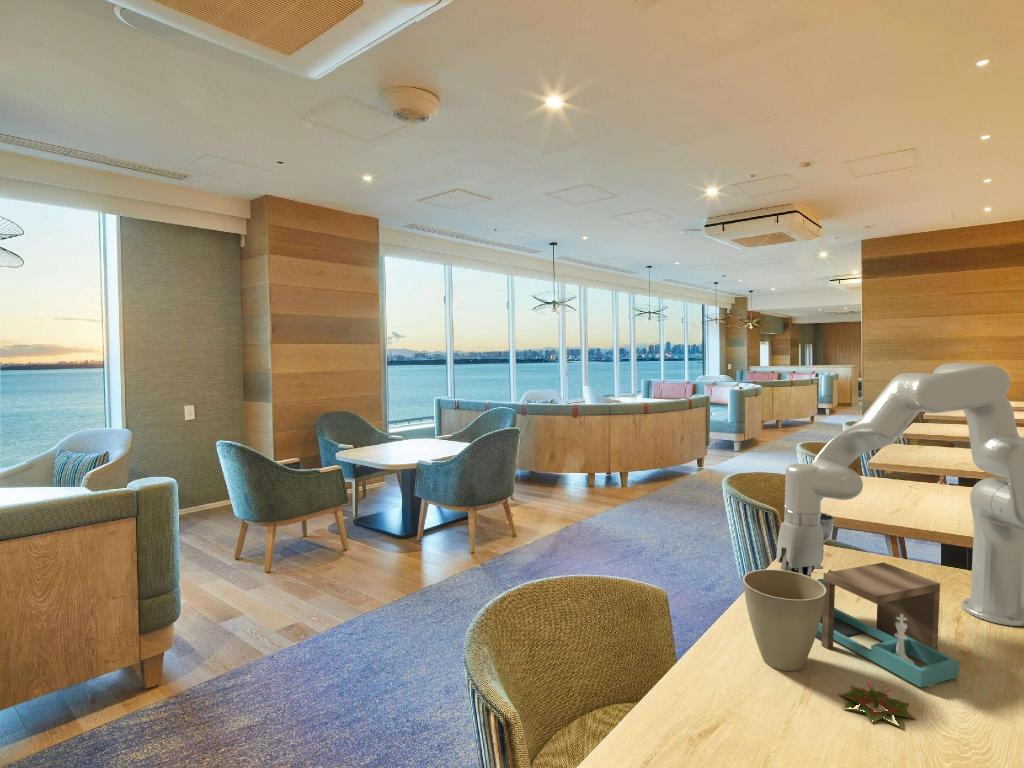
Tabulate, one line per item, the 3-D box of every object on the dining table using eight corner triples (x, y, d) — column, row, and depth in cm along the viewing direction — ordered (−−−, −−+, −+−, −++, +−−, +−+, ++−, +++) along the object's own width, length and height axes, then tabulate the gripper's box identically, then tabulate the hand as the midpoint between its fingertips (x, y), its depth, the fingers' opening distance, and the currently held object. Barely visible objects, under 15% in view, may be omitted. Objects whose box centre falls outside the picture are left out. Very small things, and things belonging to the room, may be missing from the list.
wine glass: (832, 566, 166) (834, 514, 165) (830, 575, 160) (832, 521, 159) (801, 561, 171) (803, 510, 170) (798, 570, 164) (799, 517, 163)
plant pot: (759, 635, 127) (761, 563, 126) (834, 661, 117) (837, 583, 116) (728, 661, 117) (729, 583, 116) (807, 692, 106) (810, 607, 105)
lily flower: (843, 682, 110) (843, 658, 110) (920, 706, 103) (921, 680, 103) (830, 713, 101) (830, 687, 101) (914, 742, 94) (915, 714, 93)
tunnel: (838, 610, 139) (840, 546, 138) (936, 659, 117) (940, 583, 116) (781, 622, 133) (782, 555, 132) (873, 675, 112) (876, 596, 111)
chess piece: (920, 671, 113) (922, 620, 112) (892, 669, 114) (894, 619, 113) (906, 658, 118) (908, 609, 117) (880, 656, 119) (882, 607, 118)
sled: (821, 607, 139) (822, 578, 139) (958, 676, 110) (960, 640, 110) (788, 614, 136) (788, 584, 135) (920, 687, 107) (922, 650, 106)
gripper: (814, 510, 144) (811, 583, 145) (764, 516, 139) (762, 592, 140) (840, 518, 136) (837, 595, 138) (788, 525, 132) (786, 605, 133)
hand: (799, 593), depth 139 cm, fingers closed
